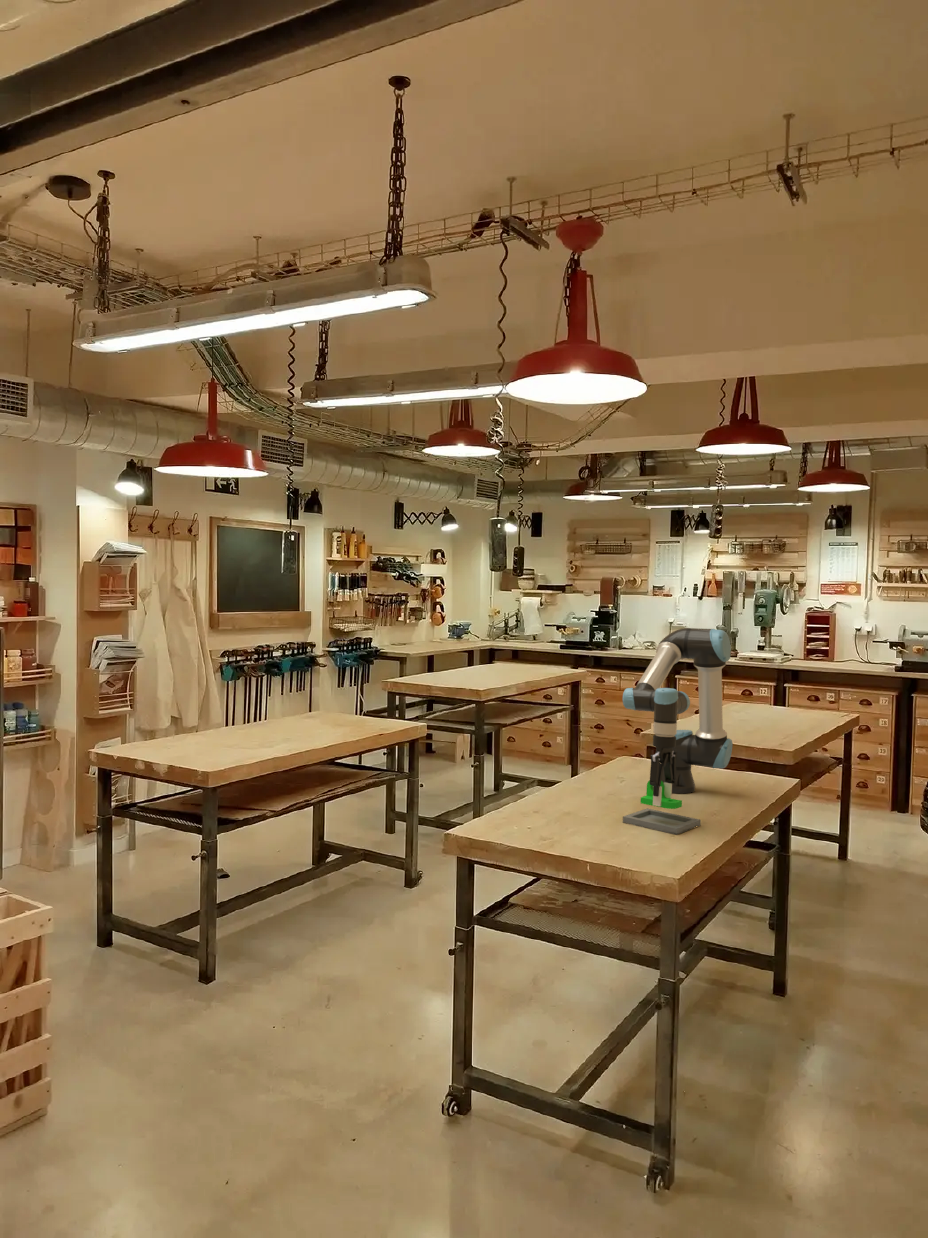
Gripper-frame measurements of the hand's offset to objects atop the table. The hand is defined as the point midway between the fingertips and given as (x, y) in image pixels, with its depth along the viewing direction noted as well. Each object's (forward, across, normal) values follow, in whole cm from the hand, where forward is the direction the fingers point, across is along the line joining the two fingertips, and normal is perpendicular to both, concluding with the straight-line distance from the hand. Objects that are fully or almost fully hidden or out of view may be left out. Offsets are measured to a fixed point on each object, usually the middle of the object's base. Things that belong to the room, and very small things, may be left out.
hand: (662, 803), depth 291 cm
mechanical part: (+1, 0, 0) cm, 1 cm away
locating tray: (+7, 0, 0) cm, 7 cm away
